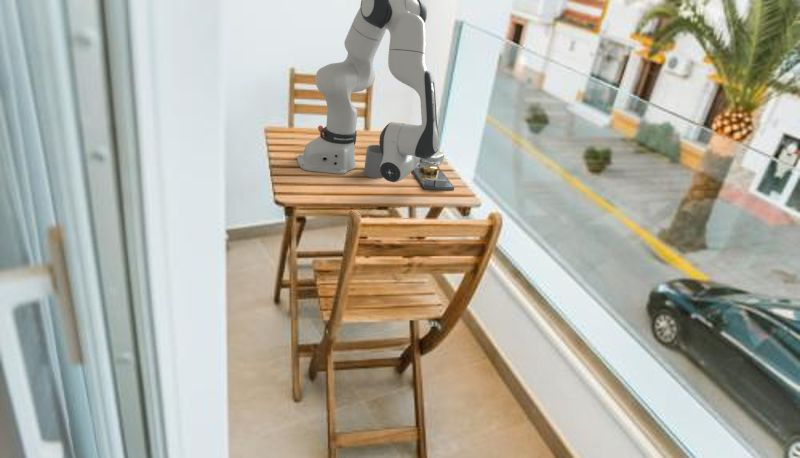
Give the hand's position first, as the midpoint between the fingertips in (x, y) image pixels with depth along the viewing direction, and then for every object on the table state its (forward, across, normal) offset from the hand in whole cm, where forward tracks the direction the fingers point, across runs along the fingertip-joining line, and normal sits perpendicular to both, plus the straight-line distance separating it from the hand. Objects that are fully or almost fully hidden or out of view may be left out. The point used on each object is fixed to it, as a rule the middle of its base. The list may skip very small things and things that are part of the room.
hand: (422, 145), depth 186 cm
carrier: (+11, -3, +17) cm, 20 cm away
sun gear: (+16, 0, +17) cm, 23 cm away
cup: (+1, +17, +17) cm, 24 cm away
